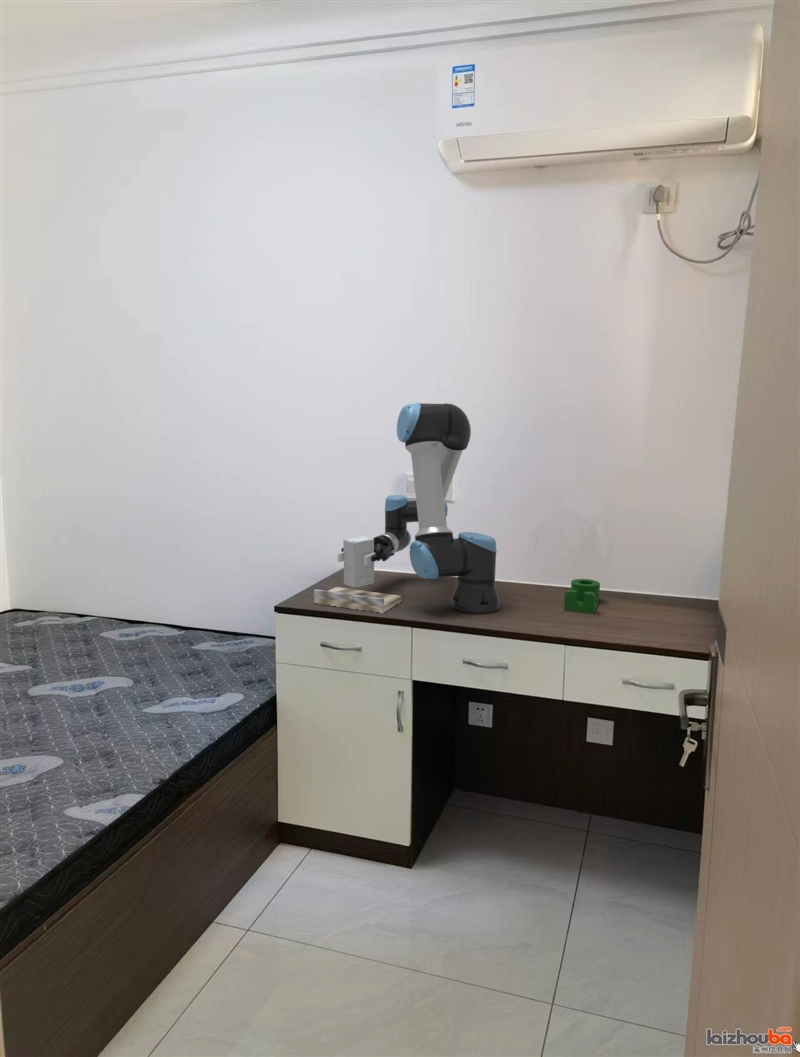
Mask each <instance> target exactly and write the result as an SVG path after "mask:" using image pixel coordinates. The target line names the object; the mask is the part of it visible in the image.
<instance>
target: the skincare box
mask: <svg viewBox="0 0 800 1057" xmlns="http://www.w3.org/2000/svg"><path fill="white" fill-rule="evenodd" d="M342 548H344V561H343V584H344V585H347V586H348V587H351V588H358V587H362V586H363V587H364V586H367V585H371V584H375V562H373V563H370V564H368V565H364V556H367V555H369V554H371V553H374V539H373V537H368V536H366V535H362V536H355V537H351V538H345V539H343V547H342Z"/></svg>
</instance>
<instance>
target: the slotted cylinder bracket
mask: <svg viewBox="0 0 800 1057" xmlns="http://www.w3.org/2000/svg"><path fill="white" fill-rule="evenodd" d="M570 584H571V586H570V589H567V591H566V592H565V593H564V601H563V602H564V604H563V606H564V607H563V611H565V612H571V613H582V614H588V615H589V614H590V615H595V612H596V610H597V608H598V605H599V603H600V589H601V582H600V581H598V580H594V579H590V578H576V579H572V580H571V583H570Z"/></svg>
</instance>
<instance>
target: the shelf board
mask: <svg viewBox="0 0 800 1057" xmlns="http://www.w3.org/2000/svg"><path fill="white" fill-rule="evenodd" d="M402 599H403V598H402V595H397V594H392V593H391V594H389V593H382V592H377V591H376V592H375V591H374V592H373V591H369V590H360V589H353V588H346V587H339V586H335V587H332V588H331V589H329V590H323V589H314V590H313V600H314V601H313V602H314V603H317V604H316V605H321V604H322V606H328V605H329V607H334V606H336V608H341V607H343V608H342V609H348V608H349V609H350V610H355V609H358V610H357V611H362V610H366V611H365V612H369V611H374V612H373V613H376V612H379V613H378V614H382V613H383V614H385V613H386V612H388V611H389V610H391V609H393V608H394V607H395V605H396V604H397V605H399V604H400V602H401V601H402ZM398 603H399V604H398ZM401 603H402V602H401ZM397 605H396V606H397ZM393 606H394V607H393ZM390 608H391V609H390ZM387 610H388V611H387ZM385 611H386V612H385Z"/></svg>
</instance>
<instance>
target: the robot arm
mask: <svg viewBox="0 0 800 1057" xmlns="http://www.w3.org/2000/svg"><path fill="white" fill-rule="evenodd" d="M396 424H397V425H396V434H397V438H398V439H397V440H398V441H399V442H400V443H401V442H402V443H404V444H405V450H406V451H407V452H408V453H410V456H411V464H412V465H411V466H412V476H413V484H414V493H415V500H408V498H407V496H406V495H402V494H399V495H398V494H393V495H388V496H386V498H385V501H384V519H385V520H384V526H385V527H384V533H382V534H380V535H377V536H375V537H372V539H374V553H371V554H369V555H367V556H364V565H368V564H370V563H373V562H374V563H375V562H380V561H382V562H386V561H388V560H389V559H390V558H391V557H392V556H395V553H398V552H401V551H403V550H404V549H406V548H407V547H408V546H409V549H410V550H409V561H410V565H411V567H412V568H413V571H414V572H415V574H416V575H417V576H418V577H419V578H421V579H425V580H426V579H431V580H434V579H443V578H453V577H454V578H455V577H457V583H456V586H455V589H454V591H453V594H452V597H451V603H450V604H451V605H450V606H451V607H452V608H453V609H454V610H457V611H460V612H464V613H470V614H471V613H472V614H487V613H492V612H496V611H498V610H500V608H501V606H500V605H501V601H500V596H499V592H498V590H497V586H496V565H497V564H496V562H497V560H496V559H497V552H498V550H497V542H496V539H495V537H492V536H490V535H488V534H482V533H478V532H472V531H471V532H470V531H469V532H468V531H462V532H459V533H458V535H457V537H458V538H456V537H455V538H454V534H453V533H454V532H453V530H451V529H450V528H448V522H447V516H448V510H449V508H448V504H447V501H446V498H447V494H448V491H449V489H450V487H451V484H452V481H453V478H454V475H455V473H456V470H457V467H458V464H459V461H460V459H461V455H462V453H463V452H464V451H465V450H466V449H467V448H468V446H469V443H470V439H471V433H472V429H471V424H470V420H469V418H468V416H467V414H466V413H465V411H464V410H463V409H462V408H461V407H459V406H457V405H455V404H453V403H421V402H420V403H419V402H416V403H409V404H408V403H407V404H405V405H403V407H402V408H401V409H400V412H399V414H398V417H397V423H396ZM408 523H418V531H417V533H416V534H415V535H414V539H415V540H413V541H412V540H411V539H412V538H411V537H412V536H411V534H410V532H409V530H408V529H407V527H408ZM340 551H341V552H339V553H337V562H338V563H342V562H344V548H343V547H342V548H341V550H340Z"/></svg>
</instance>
